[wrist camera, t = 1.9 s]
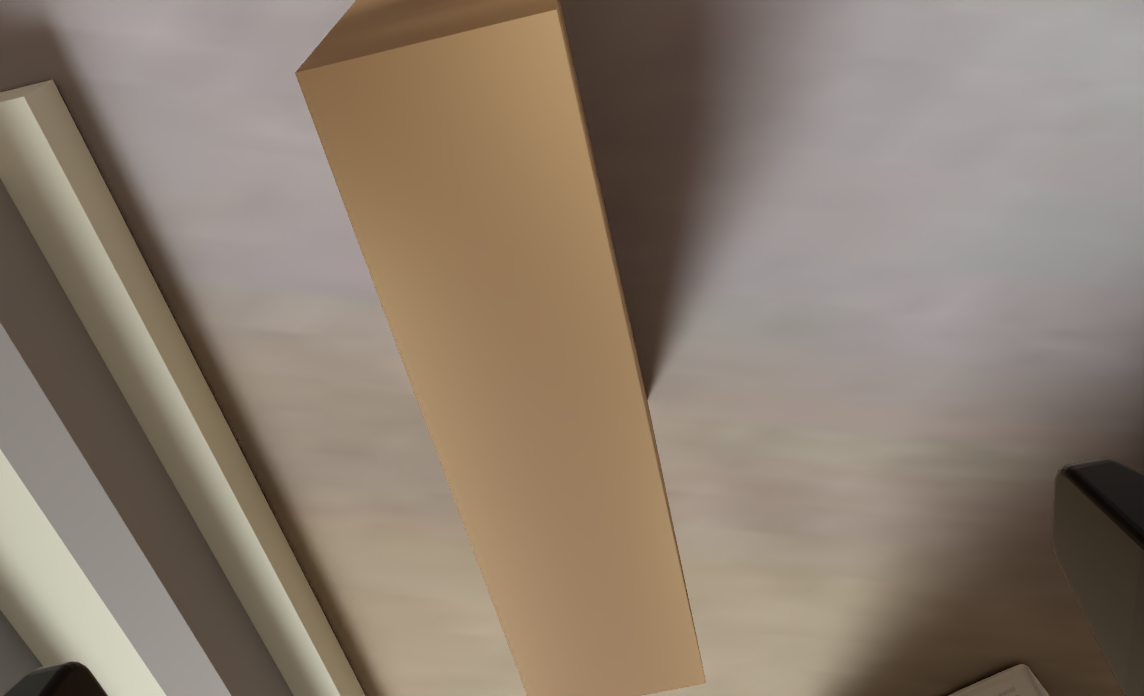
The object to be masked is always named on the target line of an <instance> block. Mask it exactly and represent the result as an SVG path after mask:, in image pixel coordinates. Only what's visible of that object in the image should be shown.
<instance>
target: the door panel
mask: <svg viewBox="0 0 1144 696" xmlns="http://www.w3.org/2000/svg"><path fill="white" fill-rule="evenodd" d="M295 74H296V76H297V79H298V82H299V84H300V87H301V90H302V92H303V95H304V98H305V101H306V103H307V106H308V109H309V111H310V114H311V117H312V119H313V122H314V125H315V127H316V130H317V133H318V135H319V138H320V141H321V143H322V146H323V149H324V151H325V154H326V157H327V160H328V162H329V165H330V168H331V170H332V173H333V176H334V178H335V181H336V184H337V186H338V189H339V192H340V194H341V197H342V200H343V202H344V205H345V208H346V210H347V213H348V216H349V219H350V221H351V224H352V227H353V229H354V232H355V235H356V237H357V240H358V243H359V245H360V248H361V251H362V253H363V256H364V259H365V261H366V264H367V267H368V269H369V272H370V275H371V278H372V280H373V283H374V286H375V288H376V291H377V294H378V296H379V299H380V302H381V304H382V307H383V310H384V312H385V315H386V318H387V320H388V323H389V326H390V328H391V331H392V334H393V337H394V339H395V342H396V345H397V347H398V350H399V353H400V355H401V358H402V361H403V363H404V366H405V369H406V371H407V374H408V377H409V379H410V382H411V385H412V387H413V390H414V393H415V396H416V398H417V401H418V404H419V406H420V409H421V412H422V414H423V417H424V420H425V422H426V425H427V428H428V430H429V433H430V436H431V438H432V441H433V444H434V446H435V449H436V452H437V455H438V457H439V460H440V463H441V465H442V468H443V471H444V473H445V476H446V479H447V481H448V484H449V487H450V489H451V492H452V495H453V497H454V500H455V503H456V505H457V508H458V511H459V514H460V516H461V519H462V522H463V524H464V527H465V530H466V532H467V535H468V538H469V540H470V543H471V546H472V548H473V551H474V554H475V556H476V559H477V562H478V564H479V567H480V570H481V573H482V575H483V578H484V581H485V583H486V586H487V589H488V591H489V594H490V597H491V599H492V602H493V605H494V607H495V610H496V613H497V615H498V618H499V621H500V623H501V626H502V629H503V632H504V634H505V637H506V640H507V642H508V645H509V648H510V650H511V653H512V656H513V658H514V661H515V664H516V666H517V669H518V672H519V674H520V677H521V680H522V682H523V685H524V688H525V691H526V693H527V696H641V695H646V694H651V693H657V692H662V691H667V690H673V689H678V688H683V687H689V686H694V685H699V684H705V683H706V681H705V676H704V671H703V666H702V661H701V656H700V652H699V647H698V642H697V637H696V632H695V628H694V623H693V618H692V613H691V608H690V604H689V599H688V594H687V589H686V584H685V579H684V575H683V570H682V565H681V560H680V555H679V551H678V546H677V541H676V536H675V531H674V527H673V522H672V517H671V512H670V507H669V502H668V498H667V493H666V488H665V483H664V478H663V474H662V469H661V464H660V459H659V454H658V450H657V445H656V440H655V435H654V430H653V425H652V421H651V416H650V411H649V406H648V401H647V397H646V392H645V388H644V383H643V379H642V374H641V369H640V365H639V360H638V356H637V351H636V347H635V342H634V337H633V333H632V328H631V324H630V319H629V315H628V310H627V306H626V301H625V296H624V292H623V287H622V283H621V278H620V274H619V269H618V264H617V260H616V255H615V251H614V246H613V242H612V237H611V232H610V228H609V223H608V219H607V214H606V210H605V205H604V201H603V196H602V191H601V187H600V182H599V178H598V173H597V169H596V164H595V159H594V155H593V150H592V146H591V141H590V137H589V132H588V128H587V123H586V118H585V114H584V109H583V105H582V100H581V96H580V91H579V86H578V82H577V77H576V73H575V68H574V64H573V59H572V55H571V50H570V45H569V41H568V36H567V32H566V27H565V23H564V18H563V13H562V9H561V4H560V0H356V1H355V2H354V4H353V5H352V6H351V7H350V8H349V9H348V11H347V12H346V13H345V14H344V15H343V17H342V18H341V19H340V20H339V21H338V23H337V24H336V25H335V26H334V27H333V29H332V30H331V31H330V32H329V33H328V34H327V36H326V37H325V38H324V39H323V40H322V42H321V43H320V44H319V45H318V46H317V48H316V49H315V50H314V51H313V52H312V54H311V55H310V56H309V57H308V58H307V59H306V61H305V62H304V63H303V64H302V65H301V67H300V68H299V69H298V70H297V71H296V73H295Z"/></svg>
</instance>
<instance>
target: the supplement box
mask: <svg viewBox="0 0 1144 696" xmlns="http://www.w3.org/2000/svg"><path fill="white" fill-rule="evenodd" d="M949 696H1049V694H1048V693H1047V692H1046V690H1045V689H1044V688H1043V686H1042V685H1041V684H1040V682H1039V681H1038V680H1037V678H1036V677H1035V676H1034V674H1033V673H1032V671H1031V670H1030V668H1029V667H1028V666H1027V665H1024V664H1020V665H1016V666H1014V667H1011V668H1009V669H1007V670H1004V671H1002V672H999V673H997V674H995V675H993V676H991V677H989V678H986V679H984V680H981V681H979V682H977V683H975V684H972V685H970V686H968V687H966V688H964V689H961V690H959V691H957V692H955V693H953V694H951V695H949Z"/></svg>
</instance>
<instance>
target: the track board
mask: <svg viewBox="0 0 1144 696" xmlns="http://www.w3.org/2000/svg"><path fill="white" fill-rule="evenodd" d="M71 661H73V662H79V663H81V664H83V665H85V666H86V667H87V668H88V669H89V670H90V671H91V672H92V674H93V675H94V677H95V678H96V679H97V681H98V682H99V684H100V685H101V686H102V688H103V689H104V691H105V692H106V693H107V695H108V696H365V694H364V692H363V690H362V688H361V686H360V684H359V682H358V680H357V678H356V676H355V674H354V672H353V670H352V668H351V666H350V664H349V662H348V660H347V658H346V656H345V654H344V652H343V651H342V649H341V647H340V645H339V643H338V641H337V639H336V637H335V635H334V633H333V631H332V629H331V627H330V625H329V623H328V621H327V619H326V617H325V615H324V613H323V611H322V609H321V607H320V605H319V603H318V601H317V599H316V597H315V595H314V593H313V591H312V589H311V587H310V586H309V584H308V582H307V580H306V578H305V576H304V574H303V572H302V570H301V568H300V566H299V564H298V562H297V560H296V558H295V556H294V554H293V552H292V550H291V548H290V546H289V544H288V542H287V540H286V538H285V536H284V534H283V532H282V530H281V528H280V526H279V524H278V522H277V521H276V519H275V517H274V515H273V513H272V511H271V509H270V507H269V505H268V503H267V501H266V499H265V497H264V495H263V493H262V491H261V489H260V487H259V485H258V483H257V481H256V479H255V477H254V475H253V473H252V471H251V469H250V467H249V465H248V463H247V461H246V459H245V457H244V456H243V454H242V452H241V450H240V448H239V446H238V444H237V442H236V440H235V438H234V436H233V434H232V432H231V430H230V428H229V426H228V424H227V422H226V420H225V418H224V416H223V414H222V412H221V410H220V408H219V406H218V404H217V402H216V400H215V398H214V396H213V394H212V392H211V391H210V389H209V387H208V385H207V383H206V381H205V379H204V377H203V375H202V373H201V371H200V369H199V367H198V365H197V363H196V361H195V359H194V357H193V355H192V353H191V351H190V349H189V347H188V345H187V343H186V341H185V339H184V337H183V335H182V333H181V331H180V329H179V327H178V326H177V324H176V322H175V320H174V318H173V316H172V314H171V312H170V310H169V308H168V306H167V304H166V302H165V300H164V298H163V296H162V294H161V292H160V290H159V288H158V286H157V284H156V282H155V280H154V278H153V276H152V274H151V272H150V270H149V268H148V266H147V264H146V262H145V261H144V259H143V257H142V255H141V253H140V251H139V249H138V247H137V245H136V243H135V241H134V239H133V237H132V235H131V233H130V231H129V229H128V227H127V225H126V223H125V221H124V219H123V217H122V215H121V213H120V211H119V209H118V207H117V205H116V203H115V201H114V199H113V197H112V195H111V194H110V192H109V190H108V188H107V186H106V184H105V182H104V180H103V178H102V176H101V174H100V172H99V170H98V168H97V166H96V164H95V162H94V160H93V158H92V156H91V154H90V152H89V150H88V148H87V146H86V144H85V142H84V140H83V138H82V136H81V134H80V132H79V130H78V129H77V127H76V125H75V123H74V121H73V119H72V117H71V115H70V113H69V111H68V109H67V107H66V105H65V103H64V101H63V99H62V97H61V95H60V93H59V91H58V89H57V87H56V85H55V83H54V81H53V80H49V81H45V82H41V83H37V84H33V85H29V86H25V87H21V88H16V89H12V90H8V91H4V92H0V696H3V695H4V694H5V693H6V692H8V691H9V690H10V689H11V688H12V687H13V686H14V685H16V684H17V683H18V682H19V681H20V680H21V679H22V678H23V677H25V676H26V675H27V674H28V673H30V672H31V671H33V670H35V669H38V668H41V667H45V666H50V665H55V664H60V663H65V662H71Z"/></svg>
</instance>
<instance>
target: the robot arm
mask: <svg viewBox="0 0 1144 696" xmlns="http://www.w3.org/2000/svg"><path fill="white" fill-rule="evenodd" d="M1052 542H1053V548H1054V552H1055V555H1056V558H1057V561H1058V563H1059V565H1060V567H1061V569H1062V571H1063V573H1064V575H1065V577H1066V579H1067V581H1068V583H1069V585H1070V587H1071V589H1072V591H1073V593H1074V595H1075V597H1076V600H1077V602H1078V604H1079V606H1080V608H1081V610H1082V612H1083V614H1084V616H1085V618H1086V620H1087V622H1088V624H1089V626H1090V628H1091V630H1092V632H1093V634H1094V636H1095V638H1096V640H1097V642H1098V644H1099V646H1100V648H1101V650H1102V652H1103V654H1104V656H1105V658H1106V660H1107V662H1108V664H1109V666H1110V668H1111V670H1112V672H1113V674H1114V676H1115V678H1116V680H1117V682H1118V684H1119V686H1120V688H1121V690H1122V692H1123V694H1124V696H1144V473H1142V472H1140V471H1137V470H1135V469H1133V468H1131V467H1129V466H1127V465H1125V464H1123V463H1120V462H1118V461H1115V460H1113V459H1108V458H1099V459H1094V460H1089V461H1084V462H1079V463H1074V464H1069V465H1065V466H1063V467H1062V468H1060V469H1059V470H1058V472H1057V474H1056V478H1055V485H1054V504H1053V523H1052ZM3 696H108V695H107V693H106V692H105V691H104V689H103V688H102V686H101V685H100V684H99V682H98V681H97V679H96V678H95V677H94V675H93V674H92V672H91V671H90V670H89V669H88V668H87V667H86V666H85V665H83V664H81V663H79V662H73V661H71V662H65V663H60V664H55V665H50V666H45V667H41V668H38V669H35V670H33V671H31V672H30V673H28V674H27V675H26V676H25V677H23V678H22V679H21V680H20V681H19V682H18V683H17V684H16V685H14V686H13V687H12V688H11V689H10V690H9V691H8V692H6V693H5V694H4V695H3Z"/></svg>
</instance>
